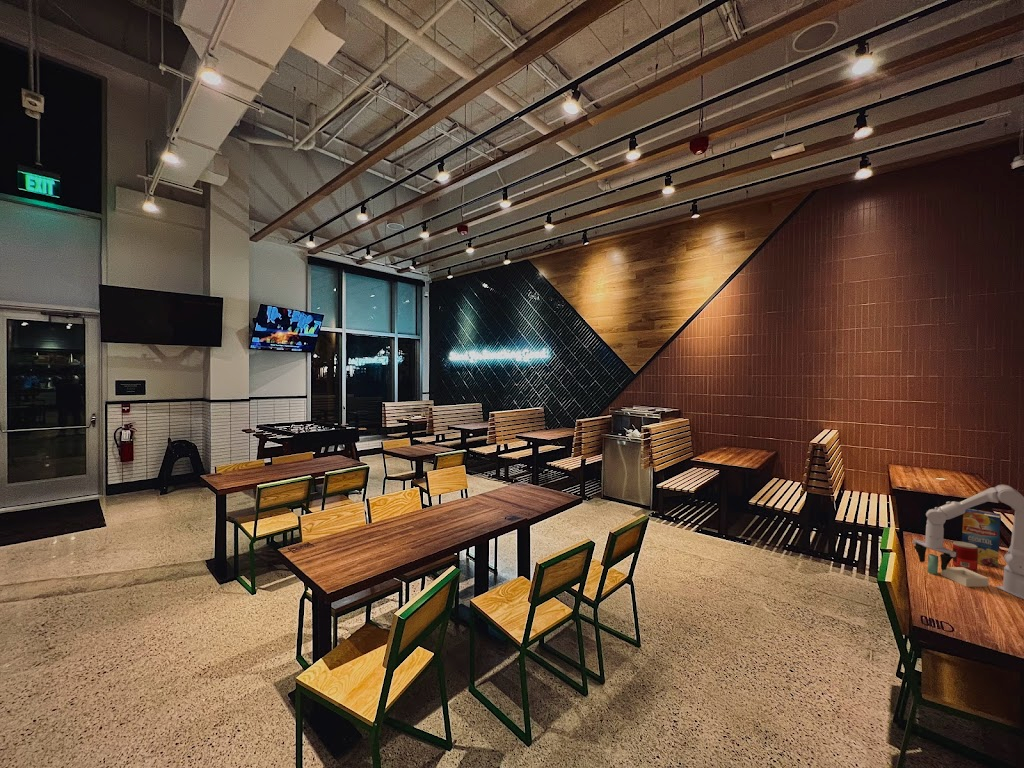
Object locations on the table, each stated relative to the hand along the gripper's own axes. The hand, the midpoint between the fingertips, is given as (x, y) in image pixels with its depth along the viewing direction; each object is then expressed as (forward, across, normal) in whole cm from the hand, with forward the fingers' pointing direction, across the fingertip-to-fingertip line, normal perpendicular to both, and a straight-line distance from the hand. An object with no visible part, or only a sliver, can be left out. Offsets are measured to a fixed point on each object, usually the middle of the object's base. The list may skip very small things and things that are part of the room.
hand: (932, 565), depth 192 cm
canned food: (+3, -2, -20) cm, 21 cm away
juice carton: (+4, 0, -36) cm, 36 cm away
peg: (+3, 0, 0) cm, 4 cm away
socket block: (+3, -9, -5) cm, 11 cm away
